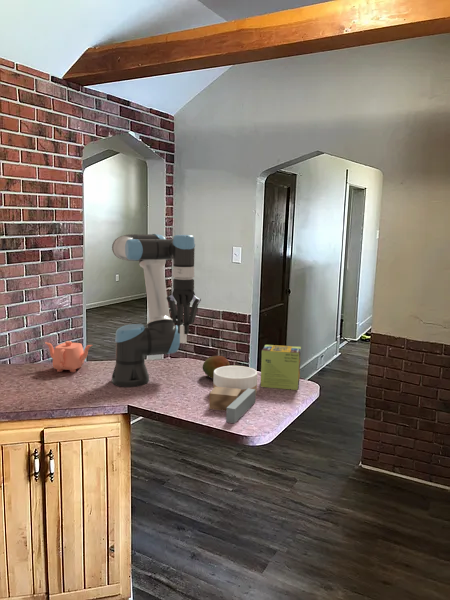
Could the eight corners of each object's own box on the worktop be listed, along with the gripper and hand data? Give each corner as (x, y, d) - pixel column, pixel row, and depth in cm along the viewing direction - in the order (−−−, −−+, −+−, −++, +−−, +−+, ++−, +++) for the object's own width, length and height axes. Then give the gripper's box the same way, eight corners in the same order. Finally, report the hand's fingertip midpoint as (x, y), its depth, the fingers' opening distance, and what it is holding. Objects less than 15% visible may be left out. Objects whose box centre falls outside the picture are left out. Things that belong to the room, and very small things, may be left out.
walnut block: (209, 409, 185) (209, 393, 184) (215, 401, 192) (215, 386, 191) (236, 412, 182) (236, 396, 181) (241, 404, 190) (241, 389, 189)
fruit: (220, 384, 212) (220, 360, 211) (195, 378, 219) (195, 356, 217) (234, 377, 222) (235, 354, 221) (210, 372, 229) (210, 350, 227)
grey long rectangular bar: (226, 421, 173) (226, 407, 172) (247, 401, 193) (247, 388, 193) (234, 423, 172) (235, 409, 171) (255, 402, 192) (255, 389, 191)
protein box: (298, 390, 207) (299, 352, 204) (260, 387, 210) (261, 350, 207) (299, 382, 217) (301, 346, 214) (263, 379, 220) (264, 344, 217)
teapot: (45, 367, 231) (44, 340, 229) (81, 362, 240) (80, 335, 238) (56, 376, 219) (55, 347, 217) (93, 370, 228) (93, 342, 226)
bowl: (265, 392, 204) (266, 372, 202) (235, 402, 192) (236, 381, 190) (234, 382, 216) (234, 363, 214) (204, 391, 204) (204, 371, 202)
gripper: (162, 278, 184) (162, 342, 187) (195, 280, 179) (195, 346, 183) (172, 276, 191) (172, 338, 194) (204, 278, 186) (203, 342, 190)
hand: (183, 342), depth 189 cm, fingers closed
